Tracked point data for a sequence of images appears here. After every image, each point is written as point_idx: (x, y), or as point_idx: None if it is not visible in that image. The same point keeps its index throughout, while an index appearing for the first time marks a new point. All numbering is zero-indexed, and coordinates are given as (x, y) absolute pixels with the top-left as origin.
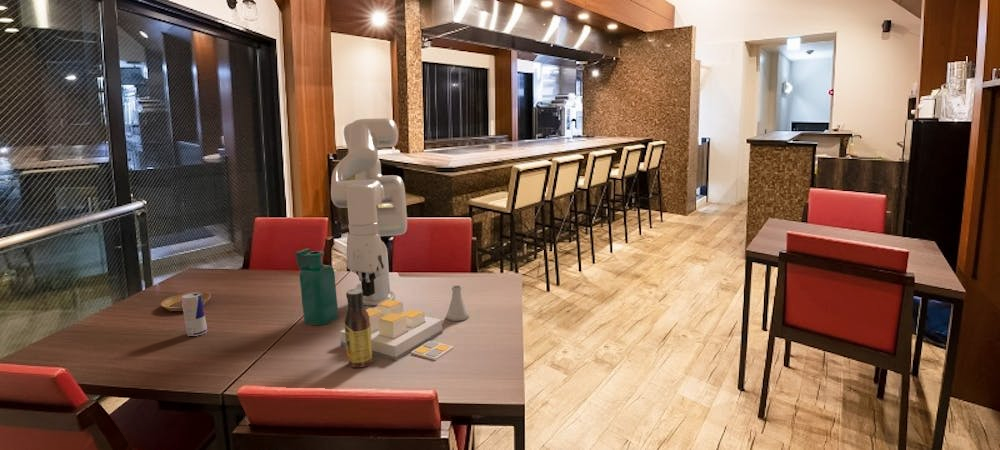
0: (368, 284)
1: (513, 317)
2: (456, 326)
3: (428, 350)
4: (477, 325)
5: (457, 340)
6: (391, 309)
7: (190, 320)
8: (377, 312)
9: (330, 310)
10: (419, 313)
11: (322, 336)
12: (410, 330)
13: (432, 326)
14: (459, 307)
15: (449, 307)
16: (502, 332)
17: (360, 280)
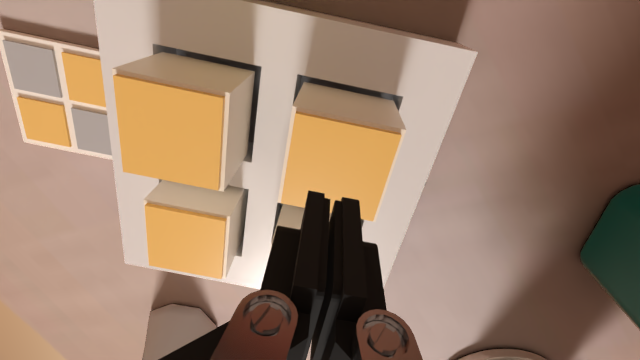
0: (281, 284)
1: (52, 345)
2: (144, 277)
3: (68, 85)
4: (96, 293)
5: (68, 196)
6: (271, 243)
7: None
8: (293, 176)
9: (628, 254)
10: (153, 250)
11: (584, 96)
12: None
13: (122, 216)
14: (147, 349)
15: None
16: (2, 269)
17: (394, 324)
